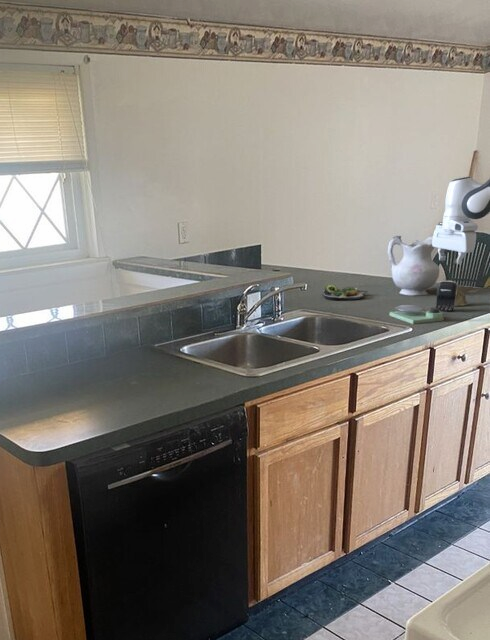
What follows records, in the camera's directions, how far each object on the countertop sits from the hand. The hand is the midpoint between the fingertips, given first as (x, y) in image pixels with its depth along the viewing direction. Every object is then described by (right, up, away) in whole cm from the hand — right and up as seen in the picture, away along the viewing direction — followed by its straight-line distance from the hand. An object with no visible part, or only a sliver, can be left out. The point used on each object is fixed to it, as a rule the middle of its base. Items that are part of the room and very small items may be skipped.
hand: (450, 262), depth 247 cm
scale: (-13, -21, -1) cm, 25 cm away
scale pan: (-15, -18, 0) cm, 24 cm away
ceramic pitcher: (0, -3, +41) cm, 41 cm away
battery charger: (+1, -17, +7) cm, 19 cm away
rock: (+8, -14, +16) cm, 22 cm away
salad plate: (-31, -5, +40) cm, 51 cm away
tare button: (-8, -20, -5) cm, 22 cm away
